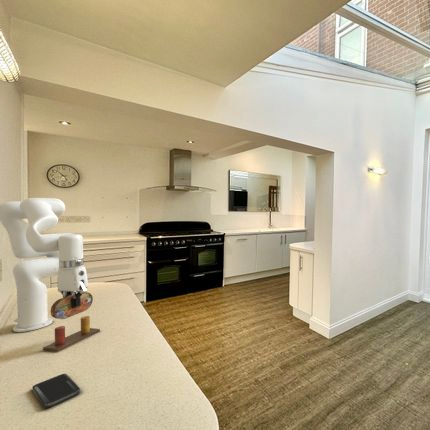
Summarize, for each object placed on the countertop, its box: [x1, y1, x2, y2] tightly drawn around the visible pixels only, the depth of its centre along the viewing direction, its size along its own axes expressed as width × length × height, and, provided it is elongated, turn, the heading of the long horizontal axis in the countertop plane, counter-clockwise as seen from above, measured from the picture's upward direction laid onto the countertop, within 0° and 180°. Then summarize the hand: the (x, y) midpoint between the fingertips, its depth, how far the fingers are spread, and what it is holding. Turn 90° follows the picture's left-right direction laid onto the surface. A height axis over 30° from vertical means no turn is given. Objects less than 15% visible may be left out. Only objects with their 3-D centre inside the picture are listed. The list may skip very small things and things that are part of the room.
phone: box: [32, 373, 81, 409], centre depth 82 cm, size 8×1×15 cm
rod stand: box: [42, 315, 101, 353], centre depth 112 cm, size 7×17×8 cm, turn 172°
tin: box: [50, 291, 94, 320], centre depth 112 cm, size 15×3×8 cm, turn 172°
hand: (72, 306), depth 112 cm, fingers closed on tin, 2 cm apart
